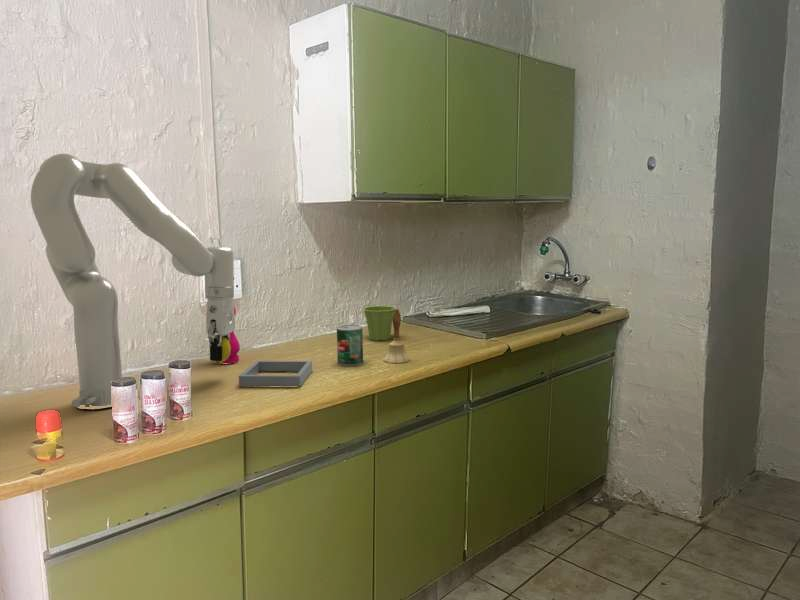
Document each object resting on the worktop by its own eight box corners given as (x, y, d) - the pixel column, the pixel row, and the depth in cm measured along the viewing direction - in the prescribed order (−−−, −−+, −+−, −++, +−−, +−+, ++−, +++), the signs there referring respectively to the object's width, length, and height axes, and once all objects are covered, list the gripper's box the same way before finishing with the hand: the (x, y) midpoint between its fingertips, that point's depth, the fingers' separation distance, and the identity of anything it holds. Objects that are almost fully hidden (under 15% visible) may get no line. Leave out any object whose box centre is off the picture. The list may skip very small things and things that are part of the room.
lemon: (223, 360, 172) (222, 332, 171) (234, 363, 169) (234, 335, 168) (205, 363, 168) (205, 334, 167) (217, 367, 165) (217, 337, 164)
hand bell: (389, 356, 195) (389, 306, 193) (414, 358, 192) (413, 308, 190) (378, 362, 188) (378, 310, 185) (404, 364, 185) (403, 312, 182)
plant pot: (399, 336, 224) (399, 305, 223) (391, 343, 213) (390, 311, 211) (368, 335, 227) (368, 304, 226) (358, 341, 216) (358, 310, 214)
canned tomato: (368, 361, 189) (367, 326, 188) (353, 367, 183) (352, 330, 181) (347, 358, 193) (346, 323, 192) (332, 363, 187) (331, 328, 185)
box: (300, 387, 163) (299, 376, 162) (239, 387, 164) (238, 376, 163) (312, 370, 179) (312, 360, 178) (256, 370, 180) (256, 360, 179)
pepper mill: (216, 365, 186) (212, 300, 183) (216, 360, 193) (212, 297, 190) (240, 363, 188) (237, 299, 185) (240, 358, 195) (237, 295, 192)
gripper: (222, 296, 157) (223, 365, 160) (243, 289, 174) (243, 352, 177) (193, 295, 158) (194, 364, 160) (217, 288, 175) (217, 351, 177)
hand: (220, 357), depth 168 cm, fingers closed on lemon, 5 cm apart
